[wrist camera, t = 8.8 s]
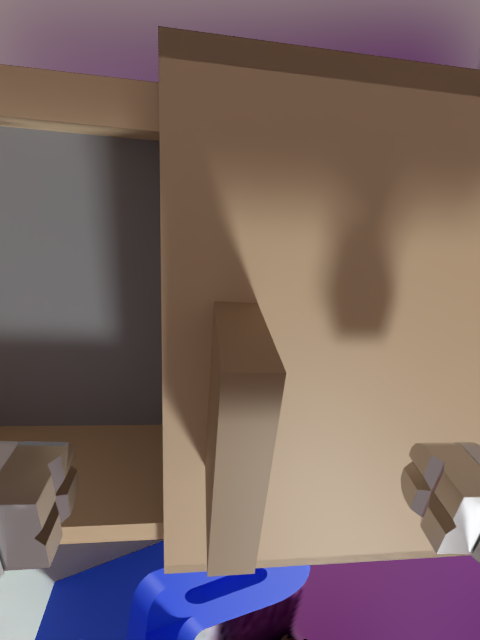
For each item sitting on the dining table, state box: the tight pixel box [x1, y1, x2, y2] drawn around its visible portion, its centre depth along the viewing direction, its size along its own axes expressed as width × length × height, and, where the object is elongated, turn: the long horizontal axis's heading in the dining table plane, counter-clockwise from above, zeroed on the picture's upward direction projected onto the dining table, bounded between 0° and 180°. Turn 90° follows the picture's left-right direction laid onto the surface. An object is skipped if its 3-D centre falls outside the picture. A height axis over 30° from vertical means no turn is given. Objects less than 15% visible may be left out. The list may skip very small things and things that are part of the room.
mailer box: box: [0, 64, 164, 544], centre depth 14 cm, size 20×16×7 cm
